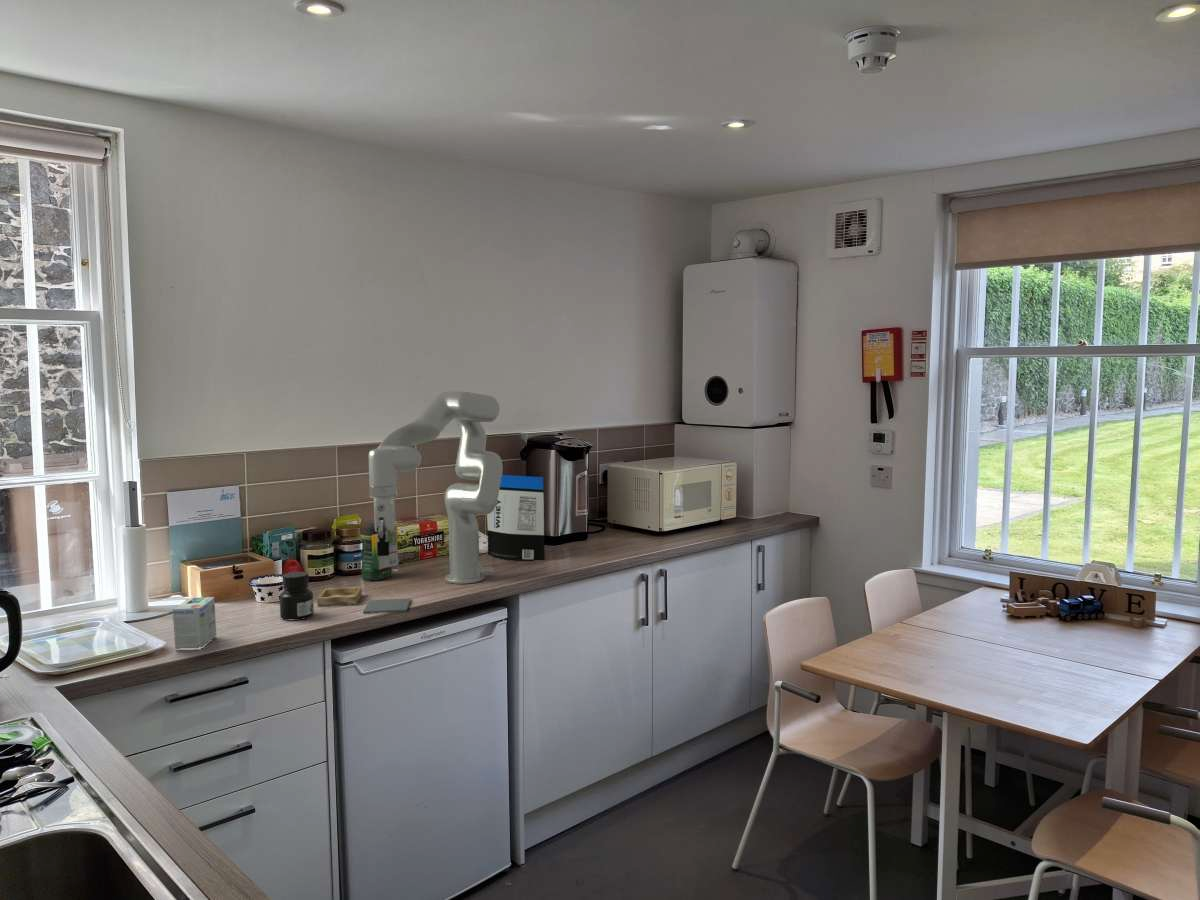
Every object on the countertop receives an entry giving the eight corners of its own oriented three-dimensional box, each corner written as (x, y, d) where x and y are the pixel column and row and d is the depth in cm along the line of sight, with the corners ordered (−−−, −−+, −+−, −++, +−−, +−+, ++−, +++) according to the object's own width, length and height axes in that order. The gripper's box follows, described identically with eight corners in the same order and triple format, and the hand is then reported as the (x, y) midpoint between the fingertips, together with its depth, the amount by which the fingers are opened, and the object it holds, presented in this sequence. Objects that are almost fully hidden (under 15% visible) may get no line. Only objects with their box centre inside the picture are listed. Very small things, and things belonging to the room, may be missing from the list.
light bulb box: (190, 638, 223) (188, 597, 222) (217, 637, 224) (215, 596, 223) (174, 651, 212) (171, 608, 211) (202, 650, 213) (199, 607, 212)
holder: (361, 595, 263) (361, 587, 263) (356, 604, 252) (355, 596, 252) (325, 596, 262) (324, 588, 261) (317, 606, 251) (317, 598, 251)
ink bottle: (306, 621, 236) (304, 578, 235) (274, 621, 236) (272, 579, 235) (319, 611, 246) (317, 570, 245) (288, 611, 246) (286, 570, 245)
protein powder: (537, 563, 303) (536, 478, 300) (480, 557, 313) (478, 475, 311) (551, 558, 311) (549, 475, 308) (495, 552, 322) (493, 472, 319)
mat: (410, 600, 256) (410, 598, 256) (406, 611, 244) (406, 609, 244) (369, 602, 255) (369, 600, 255) (363, 613, 243) (363, 611, 243)
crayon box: (391, 563, 252) (390, 524, 251) (398, 565, 250) (397, 525, 249) (372, 568, 246) (370, 528, 245) (379, 569, 245) (377, 529, 243)
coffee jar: (375, 582, 278) (373, 526, 276) (357, 580, 282) (355, 524, 280) (396, 576, 287) (394, 521, 285) (378, 573, 290) (376, 519, 289)
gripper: (392, 495, 238) (394, 558, 240) (400, 487, 255) (402, 546, 257) (365, 496, 237) (367, 559, 239) (374, 488, 255) (376, 547, 256)
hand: (385, 552), depth 248 cm, fingers closed on crayon box, 7 cm apart
